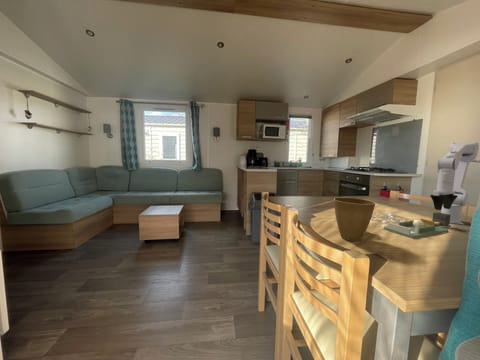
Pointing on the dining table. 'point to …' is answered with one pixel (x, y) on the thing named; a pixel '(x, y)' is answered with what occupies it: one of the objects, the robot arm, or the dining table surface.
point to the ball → (418, 223)
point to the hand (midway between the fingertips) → (442, 209)
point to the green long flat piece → (420, 229)
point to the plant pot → (353, 217)
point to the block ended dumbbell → (437, 219)
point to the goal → (402, 228)
